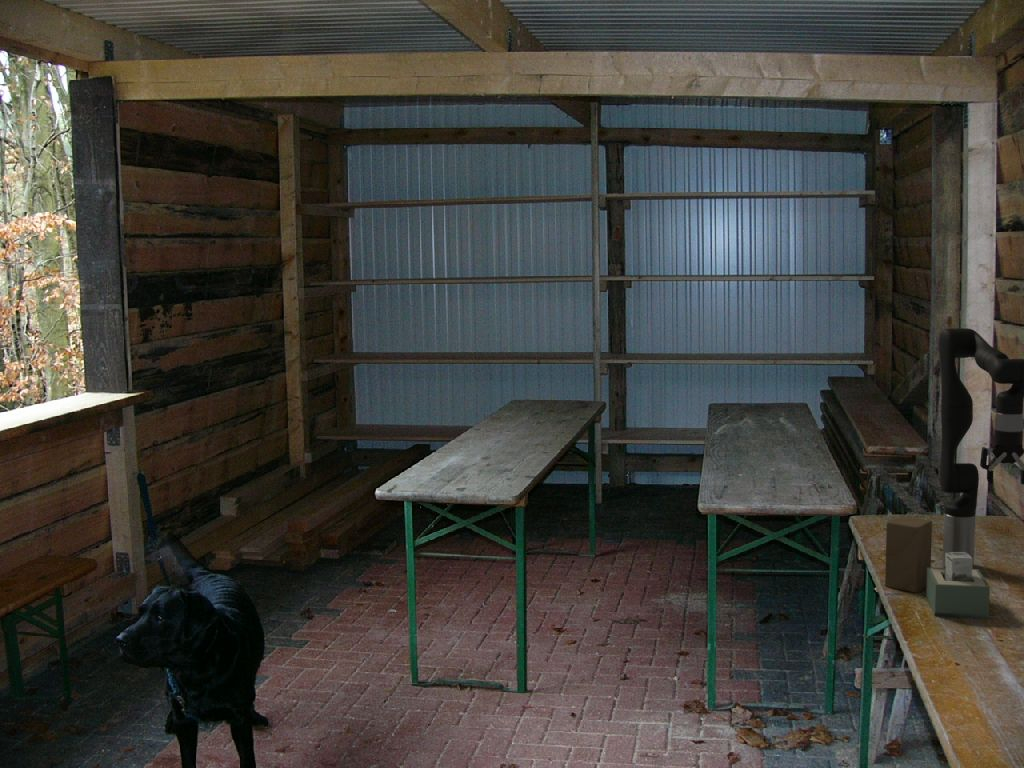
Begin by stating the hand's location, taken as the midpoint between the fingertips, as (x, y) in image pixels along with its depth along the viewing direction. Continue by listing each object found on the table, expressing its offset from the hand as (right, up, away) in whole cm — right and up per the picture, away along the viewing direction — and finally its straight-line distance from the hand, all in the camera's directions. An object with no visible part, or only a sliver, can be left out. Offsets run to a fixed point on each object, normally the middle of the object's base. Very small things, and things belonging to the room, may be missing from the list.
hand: (1006, 483), depth 324 cm
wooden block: (-24, -32, +14) cm, 42 cm away
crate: (-17, -35, -6) cm, 39 cm away
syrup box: (-17, -34, -6) cm, 38 cm away
